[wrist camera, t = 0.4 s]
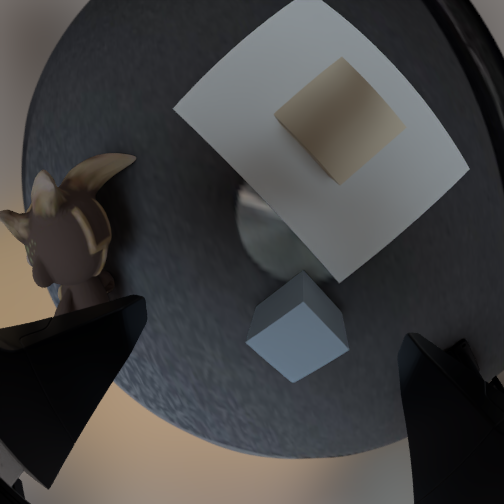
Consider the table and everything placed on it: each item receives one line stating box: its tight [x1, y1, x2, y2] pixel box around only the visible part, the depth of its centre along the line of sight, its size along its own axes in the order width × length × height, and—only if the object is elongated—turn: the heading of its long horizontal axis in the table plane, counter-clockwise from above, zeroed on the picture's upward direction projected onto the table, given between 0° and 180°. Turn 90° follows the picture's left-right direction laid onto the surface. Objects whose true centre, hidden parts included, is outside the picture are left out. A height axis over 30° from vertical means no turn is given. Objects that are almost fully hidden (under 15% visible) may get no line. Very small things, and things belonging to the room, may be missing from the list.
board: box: [173, 0, 469, 283], centre depth 18 cm, size 18×14×1 cm
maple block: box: [274, 57, 407, 185], centre depth 15 cm, size 5×5×5 cm
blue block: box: [246, 270, 349, 383], centre depth 21 cm, size 5×5×5 cm
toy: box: [0, 153, 136, 316], centre depth 19 cm, size 11×8×15 cm
